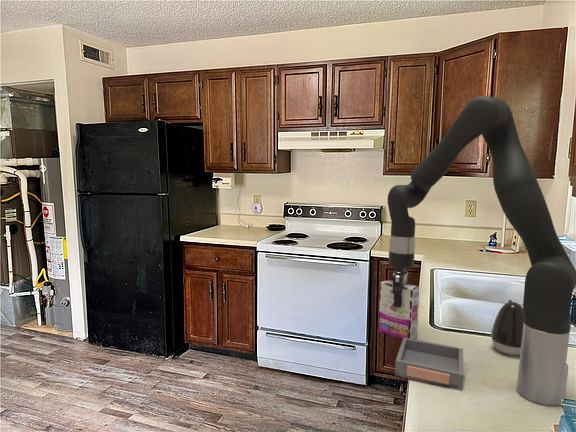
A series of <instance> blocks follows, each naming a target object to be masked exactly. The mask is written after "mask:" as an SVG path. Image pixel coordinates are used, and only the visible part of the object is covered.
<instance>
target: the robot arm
mask: <svg viewBox="0 0 576 432" xmlns="http://www.w3.org/2000/svg"><path fill="white" fill-rule="evenodd" d="M517 130H518V129H517V127H516V124H515V120H514V116H513V112H512V110H511V107H510V105H509V104H508V103H507V102H506V101H505V100H503V99H502V98H498V97H493V96H489V95H482V96H481V95H480V96H476V97H474V98H473V99H471V100H470V101H469V102H468V103H467V104H466V105H465V106H464V107H463V109H462V111H461V112H460V113H459V115H458V116H457V118H456V119H455V121H454V122H453V124H452V125H451V126H450V128H449V129H448V130H447V132H446V133H445V134H444V136H443V137H442V139H441V140H439V142H438V144H437V145H436V146H435V147H434V148H433V150H431V152H430V153H429V154H427V156H426V157H425V158H424V159H423V160H422V161H421V162H420V163H419V164H418V166H416V167H415V168H414V169H413V171H412V172H411V174H410V180H411V181H410V182H409V183H408V184H396V185H393V186H392V187H391V189H390V190H389V192H388V193H387V199H386V200H387V207H388V212H389V218H390V221H391V224H390V225H391V226H390V238H389V243H388V245H389V247H388V265H389V266H391V267H395V269H394V271H393V273H392V281H393V291H392V293H393V294H394V304H393V305H394V307H401V301H402V294H403V293H402V289H403V288H404V287H405V283H406V284H408V277H409V276H408V275H409V271H408V269H410V268H413V267H414V266H415V249H416V248H415V247H416V242H415V241H416V238H415V236H416V235H415V232H416V220H415V218H414V217H412V216H410V215H409V209H412V208H415V207H417V206H418V205H420V204H421V203H422V202H423V201H424V199H425V198H426V197H427V195H428V193H430V191H431V189H432V187H434V185H436V184H437V183H438V182H439V181H440V180H441V179H442V178H443V177H444V176H445V175H446V174H447V172H449V171H450V169H451V168H452V166H453V164H454V162H455V160H456V159H458V158H457V157H458V156H459V154H460V153H461V152H462V151H463V150H464V149H465V148H466V147H467V145H469V144H470V143H472V142H473V141H474V140H476V139H477V138H479V136H482V138H483V139H484V141H485V143H486V146H487V148H488V150H489V152H490V156H491V161H492V181H493V188H494V191H495V195H496V197H497V201H498V202H499V205H500V207H501V209H502V212H503V214H504V215H505V217H506V219H507V221H508V222H509V223H510V224H511V226H512V228H513V229H514V230H515V232H516V233H517V234H518V236H519V237H520V239H521V240H522V242H523V244H524V247H525V249H526V253H527V255H528V259H529V262H530V267H529V269H528V270H527V272H526V275H525V280H524V288H523V289H524V290H523V302H522V303H523V304H522V308H523V313H524V323H523V333H522V343H521V352H520V355H519V363H518V364H519V365H518V373H517V380H516V381H517V382H516V391H517V392H518V394H519V395H520V396H521V397H523V398H525V399H526V400H528V401H530V402H532V403H535V404H539V405H543V406H553V407H554V406H561V399H566V391H567V383H568V375H569V365H568V364H567V363H568V362H567V359H568V351H569V341H570V333H571V327H572V320H571V308H572V307H571V306H572V299H573V291H574V290H575V289H576V268H575V266H574V264H573V262H572V261H571V259H570V257H569V256H568V254H567V252H566V250H565V248H564V246H563V244H562V243H561V241H560V239H559V236H558V234H557V232H556V229H555V226H554V221H553V219H552V215H551V213H550V210H549V208H548V205H547V202H546V199H545V196H544V193H543V190H542V188H541V185H540V184H539V181H538V179H537V177H536V175H535V172H534V171H533V168H532V166H531V163H530V162H529V159H528V157H527V154H526V152H525V150H524V149H523V146H522V143H521V141H520V138H519V134H518V131H517ZM396 287H399V288H400V291H398V290H396Z"/></svg>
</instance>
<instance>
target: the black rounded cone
mask: <svg viewBox="0 0 576 432" xmlns="http://www.w3.org/2000/svg"><path fill="white" fill-rule="evenodd" d="M523 323H524V313H523V305H520V304H519V302H517V301H513V300H512V299H508V302H506V303H504V304H503V305H502V306H501V308H500V309H499V311H498V313H497V314H496V316H495V319H494V322H493V325H492V328H491V332H490V338H491V341H492V344H493V346H494V347H495V349H496V350H498V351H499V352H501V353H502V354H505V355H508V356H520V352H521V343H522V333H523Z"/></svg>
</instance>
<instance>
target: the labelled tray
mask: <svg viewBox="0 0 576 432" xmlns="http://www.w3.org/2000/svg"><path fill="white" fill-rule="evenodd" d="M394 376H396V377H402V378H404V379H409V380H413V381H419V382H423V383H426V384H432V385H437V386H440V387H446V388H449V389H453V390H459V391H462V390H463V380H464V348H463V347H457V346H451V345H446V344H441V343H436V342H430V341H424V340H421V339H410V338H403V340H402V341H401V344H400V347H399V350H398V353H397V355H396V359H395V363H394Z"/></svg>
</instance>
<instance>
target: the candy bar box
mask: <svg viewBox="0 0 576 432" xmlns="http://www.w3.org/2000/svg"><path fill="white" fill-rule="evenodd" d="M379 283H380V285H379V286H380V287H379V288H380V289H379V308H378V329H377V331H378V332H379V333H381V334H384V335H387V336H390V337H393V338H396V339H399V340H402V341H403V338H410V339H415V340H417V337H418V321H419V306H420V305H419V302H420V286H418V285H414V284H411V283H407V284H406V283H405V287H404V288H403V289H402V293H403V294H402V301H401V307H394V305H393V304H394V294H393V293H392V291H393V279H392V280H391V279H386V280H382V281H380V282H379ZM396 290H398V291H400V288H399V287H396Z"/></svg>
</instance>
